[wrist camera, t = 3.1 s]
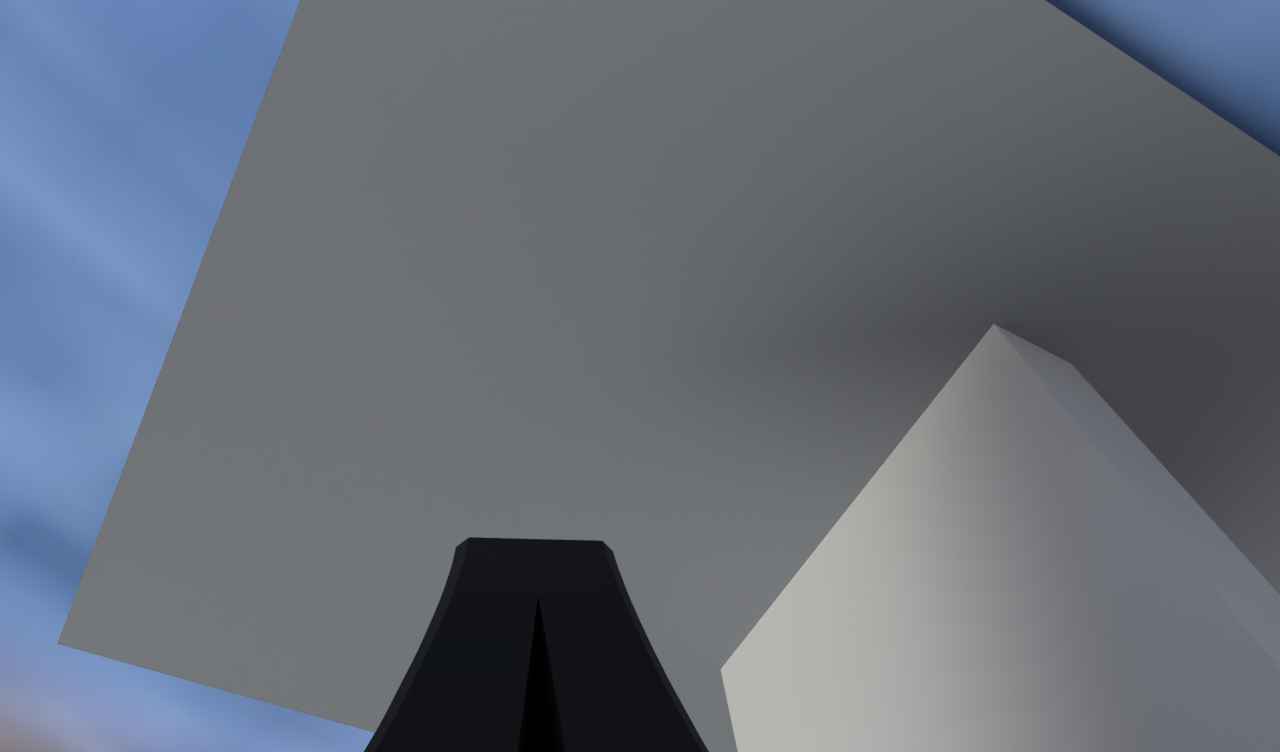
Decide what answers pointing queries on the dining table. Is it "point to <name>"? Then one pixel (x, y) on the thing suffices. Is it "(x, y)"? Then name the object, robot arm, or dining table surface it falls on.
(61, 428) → the dining table surface
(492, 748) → the robot arm
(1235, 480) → the mat
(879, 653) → the tile
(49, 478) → the dining table surface
